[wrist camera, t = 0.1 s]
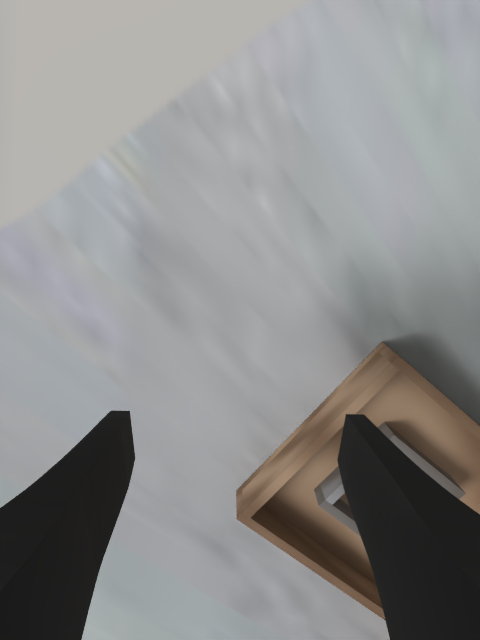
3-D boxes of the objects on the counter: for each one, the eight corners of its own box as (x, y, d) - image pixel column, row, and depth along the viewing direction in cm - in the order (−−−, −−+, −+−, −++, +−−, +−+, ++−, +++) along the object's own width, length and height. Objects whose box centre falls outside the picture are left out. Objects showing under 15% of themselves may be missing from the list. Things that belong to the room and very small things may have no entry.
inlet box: (378, 590, 28) (392, 625, 25) (236, 490, 25) (236, 518, 23) (524, 466, 25) (555, 492, 23) (381, 341, 23) (399, 356, 20)
